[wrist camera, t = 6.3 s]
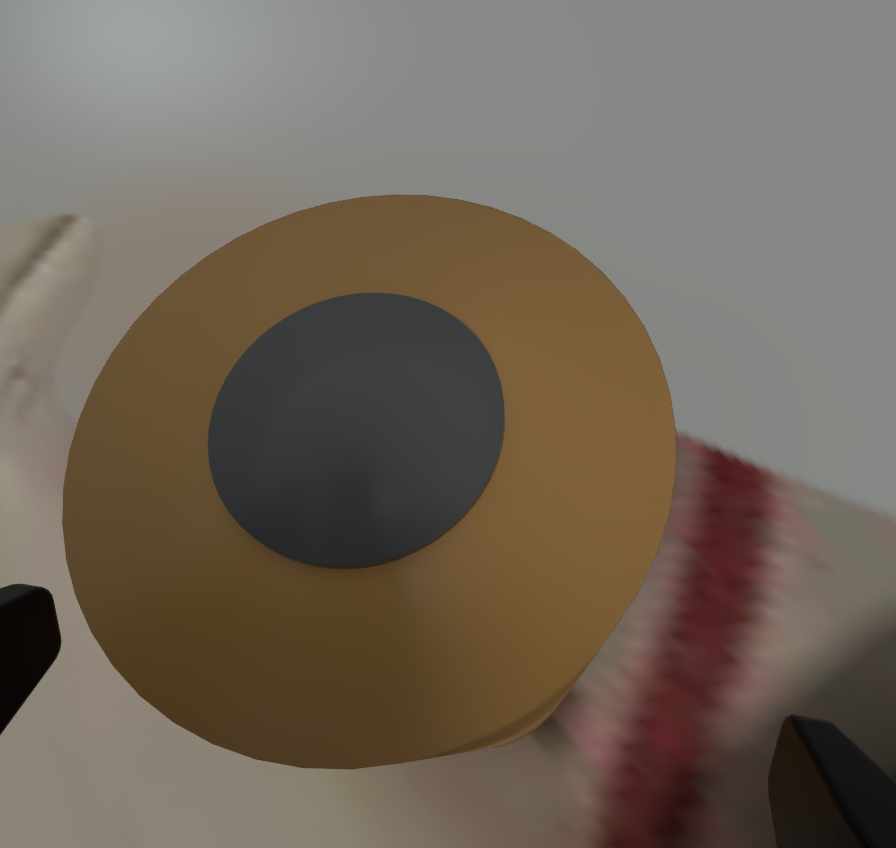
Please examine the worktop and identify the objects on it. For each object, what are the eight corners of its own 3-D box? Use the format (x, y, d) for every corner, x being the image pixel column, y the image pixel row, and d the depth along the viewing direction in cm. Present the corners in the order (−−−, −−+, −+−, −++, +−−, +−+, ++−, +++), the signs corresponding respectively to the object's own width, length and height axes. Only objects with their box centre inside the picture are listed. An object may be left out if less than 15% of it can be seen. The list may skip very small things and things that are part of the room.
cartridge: (447, 794, 15) (186, 957, 4) (346, 611, 17) (-16, 359, 6) (618, 668, 16) (835, 486, 4) (501, 507, 18) (448, 108, 7)
